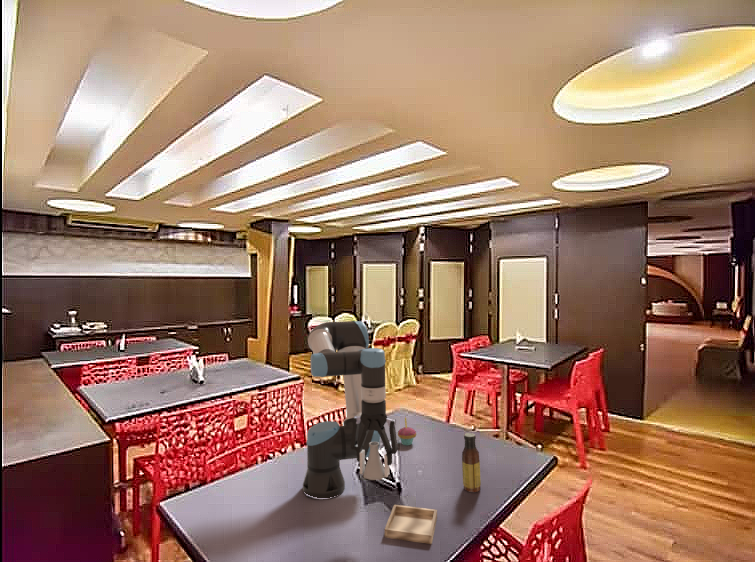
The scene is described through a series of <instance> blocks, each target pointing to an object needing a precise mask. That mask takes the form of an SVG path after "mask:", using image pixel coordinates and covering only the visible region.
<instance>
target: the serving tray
mask: <svg viewBox="0 0 755 562" xmlns="http://www.w3.org/2000/svg"><path fill="white" fill-rule="evenodd" d="M437 521H438V509H432V508H425V507H418V506H409V505H401V504H394V505H393V506H392V509H391V511H390V515H389V517H388V519H387V522H386V523H385V526H384V527H385V528H384V529H383V530H384V538H386V539H391V540H398V541H399V540H400V541H405V542H412V543H420V544H428V545H433V540H434V537H435V536H434V535H435V531H436V525H437Z"/></svg>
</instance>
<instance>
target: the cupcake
mask: <svg viewBox="0 0 755 562" xmlns="http://www.w3.org/2000/svg"><path fill="white" fill-rule="evenodd" d="M404 424H405V425H404V426H405V427H401V428H400V429H399V430H398V432H397V436H398V437H399V439H400V442H401V444H402V445H403V446H411V445H412V444H413V441H414V438H416V436H417V431H416V430H415V429H414V428H412V427H409V426H407V425H408V423H407V417H406V415H405V417H404Z"/></svg>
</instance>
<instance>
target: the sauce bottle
mask: <svg viewBox="0 0 755 562" xmlns="http://www.w3.org/2000/svg"><path fill="white" fill-rule="evenodd" d="M476 437H477V436H476V434H475V433H472V432H466V433H464V435H463V439H464V448H463V450H462V452H461V453H462V454H461V463H462V464H461V465H462V466H461V469H462V485H463V489H464V490H465V491H466V492H468V493H478V492H480V490H481V485H482V484H481V483H482V482H481V481H482V480H481V466H480V465H481V463H480V462H481V461H480V452H479V450H478V447H477V446H476Z"/></svg>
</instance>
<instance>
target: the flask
mask: <svg viewBox="0 0 755 562" xmlns="http://www.w3.org/2000/svg"><path fill="white" fill-rule="evenodd" d="M369 446H370V453H369V457H367V461H366V463H365V470H364V473H363V474H362V475H363V479H366V480H370V481H378V480H379V481H380V480H382V479H384V478H386V477H385V466H384V465H383V463H382V459H381V456H380V452H379V450H378V446H379V442H370V443H369ZM379 447H380V446H379Z"/></svg>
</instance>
